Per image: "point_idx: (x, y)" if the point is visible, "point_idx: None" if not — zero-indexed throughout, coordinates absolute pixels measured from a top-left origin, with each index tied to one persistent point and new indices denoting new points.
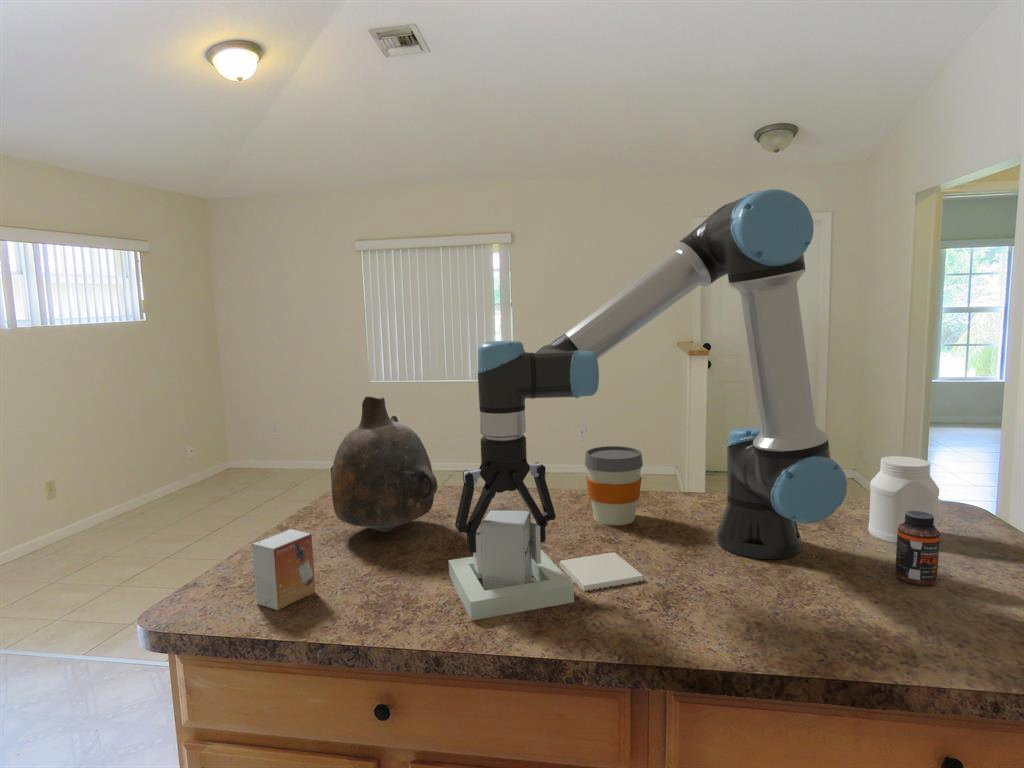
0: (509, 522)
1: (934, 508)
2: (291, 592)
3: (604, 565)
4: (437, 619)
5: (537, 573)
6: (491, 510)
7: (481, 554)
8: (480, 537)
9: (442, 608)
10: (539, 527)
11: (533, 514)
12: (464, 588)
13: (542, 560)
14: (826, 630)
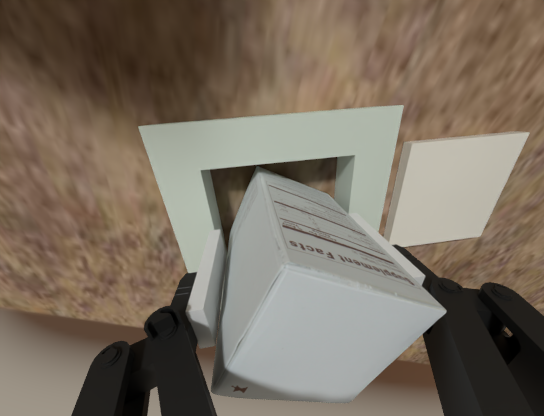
0: (317, 393)
1: None
2: None
3: (464, 189)
4: (156, 279)
5: (340, 206)
6: (289, 269)
7: (222, 291)
8: (215, 336)
9: (160, 252)
10: None
11: (432, 347)
12: None
13: (369, 194)
14: (506, 332)
